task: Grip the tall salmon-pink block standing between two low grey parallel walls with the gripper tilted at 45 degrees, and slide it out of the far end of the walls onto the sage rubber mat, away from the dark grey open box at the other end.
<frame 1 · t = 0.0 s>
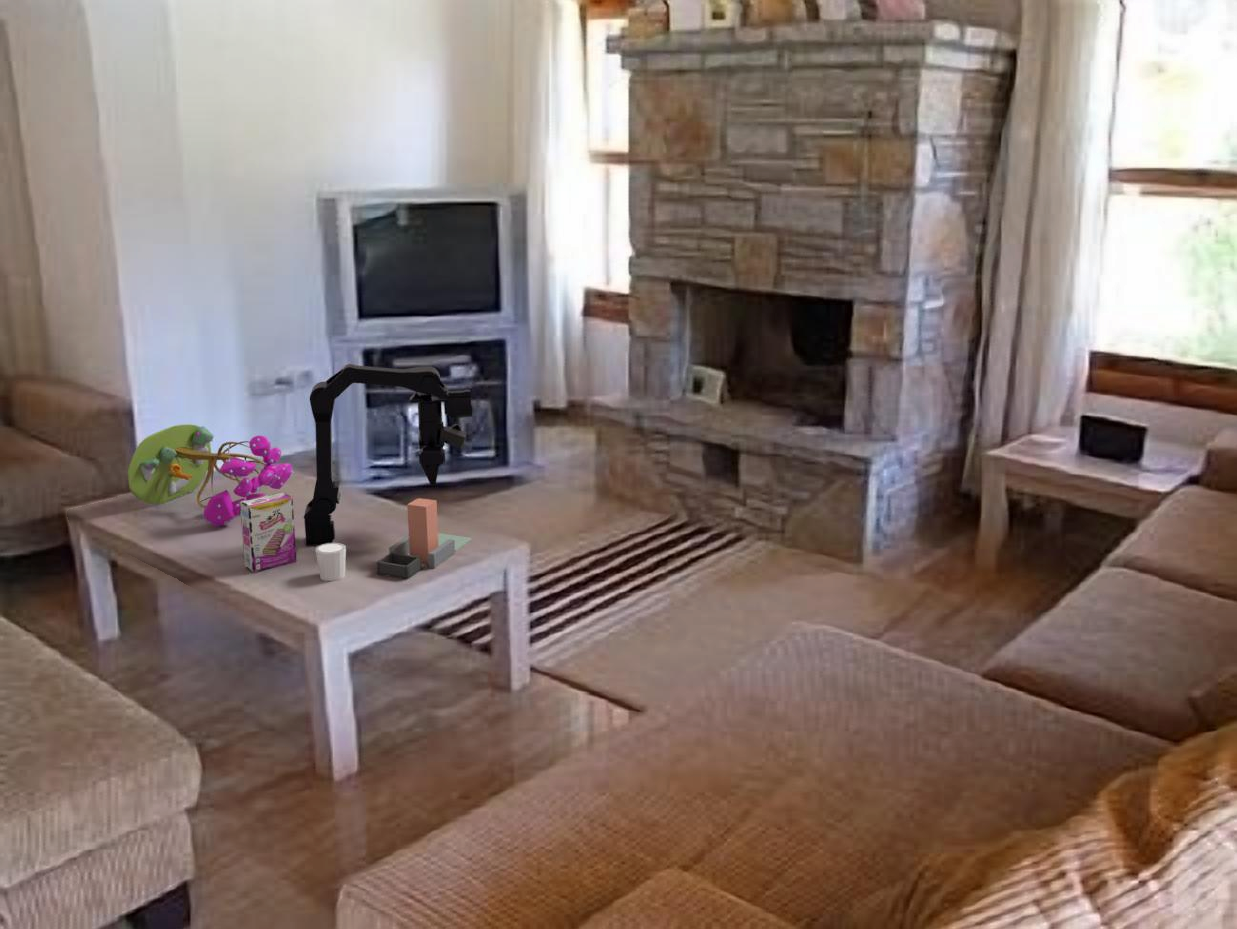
hand: (432, 479, 288), 15 cm above the table, tool pointing down, fingers open, 9 cm apart
sage mat: (446, 542, 287), on the table
candy bar box: (271, 565, 273), on the table
lily pad toy: (220, 511, 309), on the table
salmon-pink block: (424, 557, 278), on the table
dark grey open box: (399, 571, 269), on the table
white cup: (332, 576, 266), on the table
grey parallel walls: (424, 557, 278), on the table
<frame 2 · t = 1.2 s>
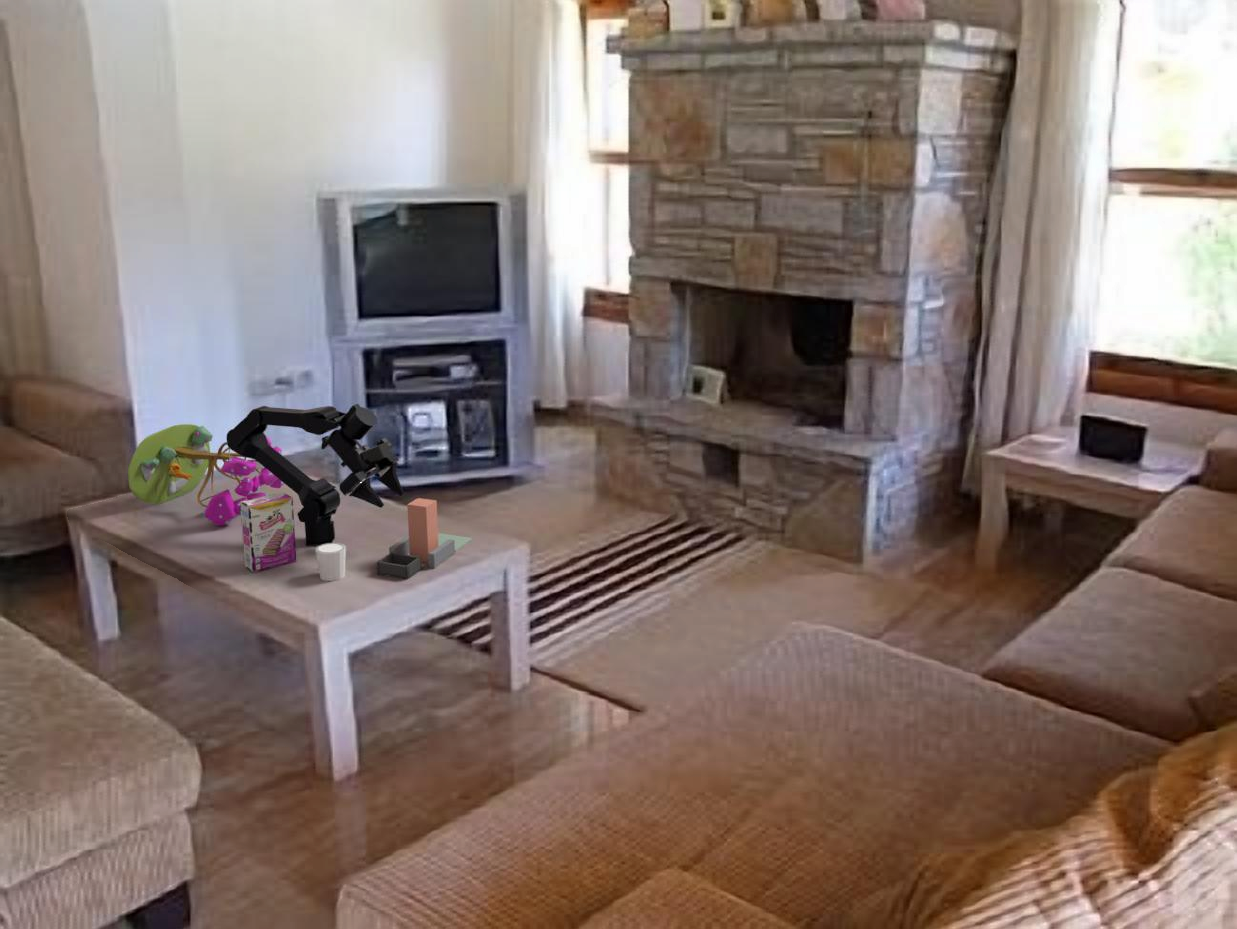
hand: (392, 500, 276), 13 cm above the table, tool tilted 45°, fingers open, 9 cm apart
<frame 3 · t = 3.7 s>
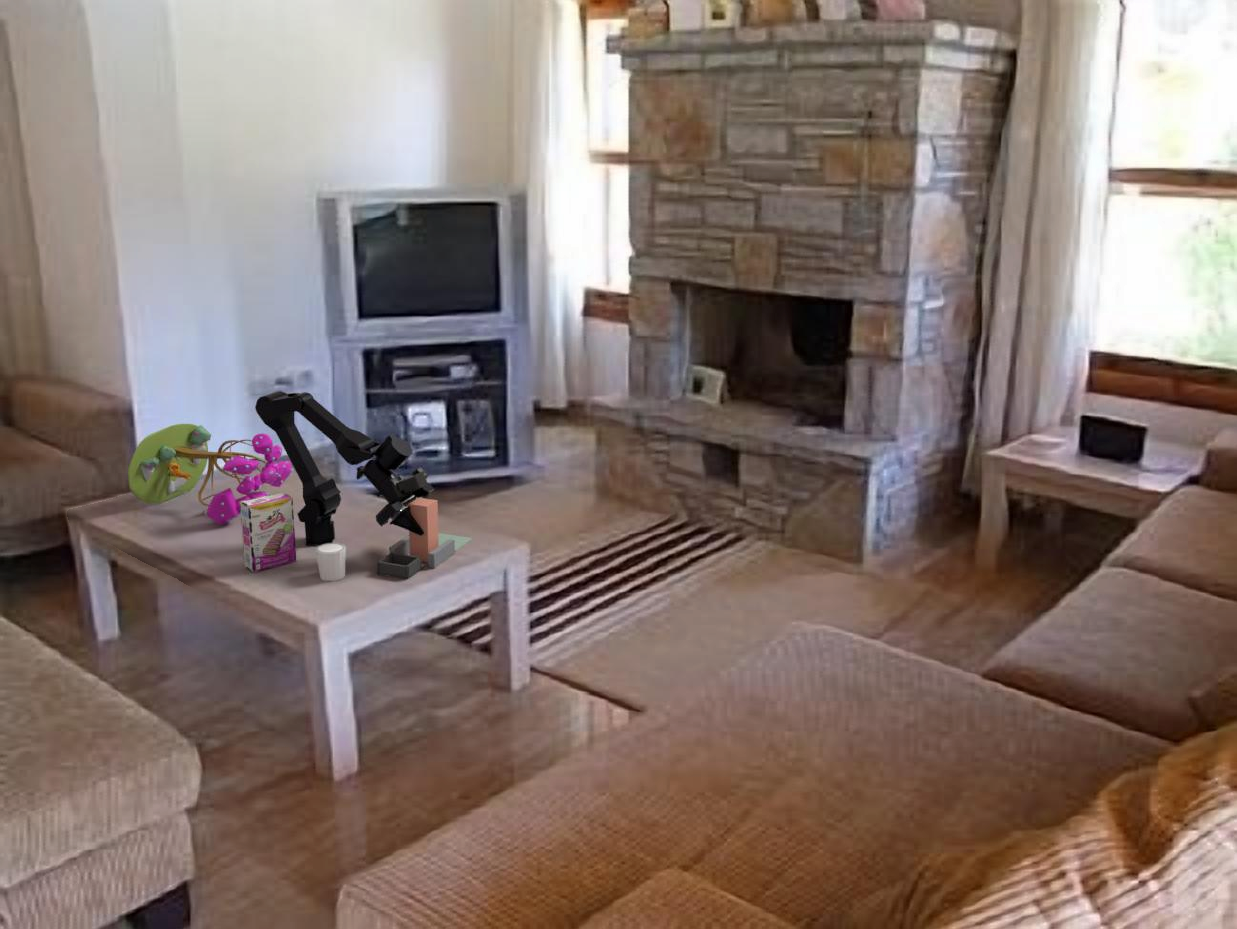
hand: (428, 530, 275), 7 cm above the table, tool tilted 45°, fingers closed on salmon-pink block, 5 cm apart
salmon-pink block: (424, 557, 278), on the table, touching gripper
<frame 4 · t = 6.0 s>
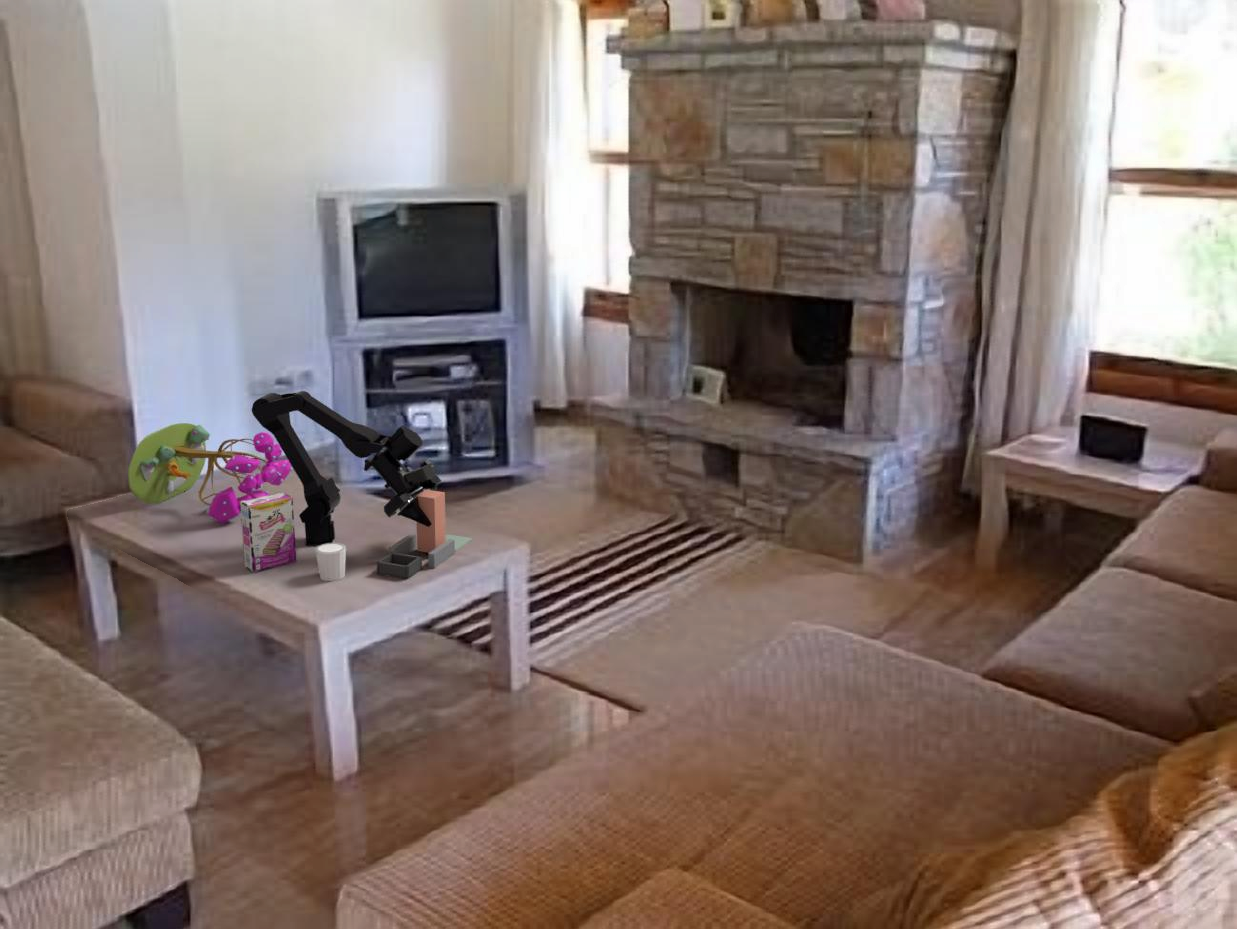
hand: (435, 522, 278), 8 cm above the table, tool tilted 45°, fingers closed on salmon-pink block, 5 cm apart
salmon-pink block: (431, 548, 281), point 1 cm above the table, touching gripper
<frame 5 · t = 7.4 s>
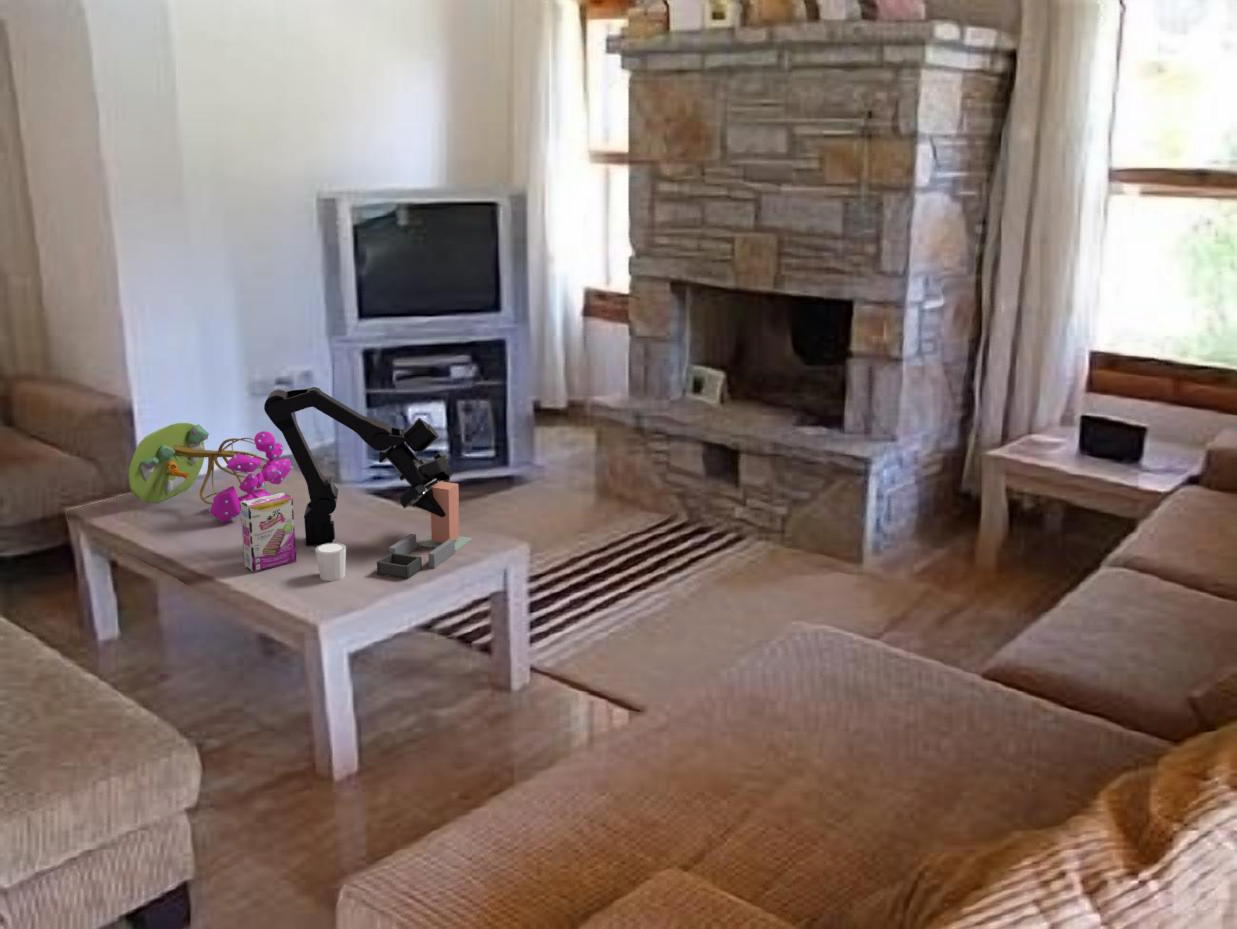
hand: (449, 512, 284), 8 cm above the table, tool tilted 45°, fingers closed on salmon-pink block, 5 cm apart
salmon-pink block: (445, 539, 287), point 1 cm above the table, touching gripper
when the fingers open (8 cm above the table, at t = 8.3 s): salmon-pink block stays where it is, resting on sage mat.
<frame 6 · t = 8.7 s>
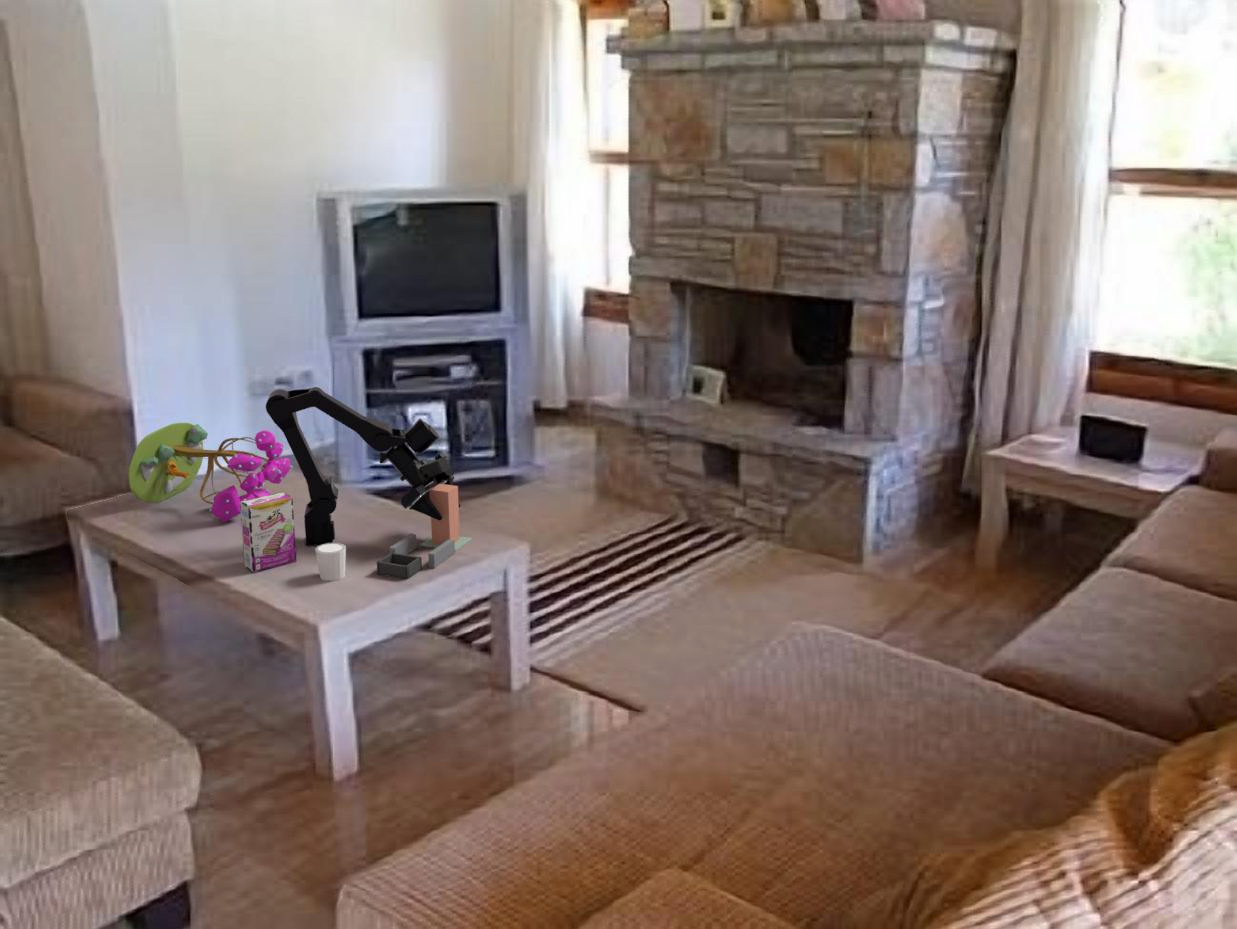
hand: (450, 513, 285), 8 cm above the table, tool tilted 45°, fingers open, 9 cm apart
salmon-pink block: (446, 541, 287), resting on sage mat
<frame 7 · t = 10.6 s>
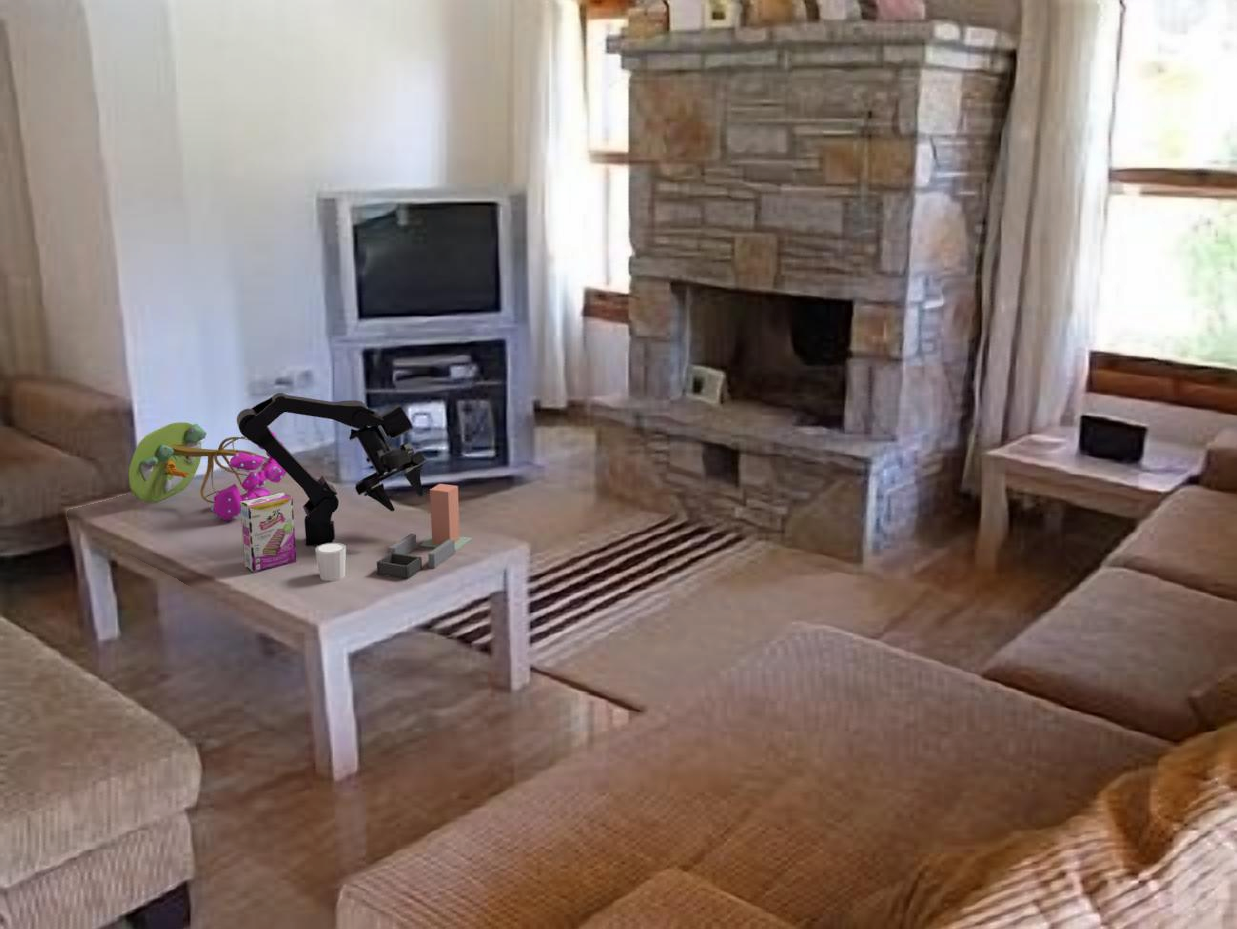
hand: (407, 503, 285), 10 cm above the table, tool tilted 35°, fingers open, 9 cm apart
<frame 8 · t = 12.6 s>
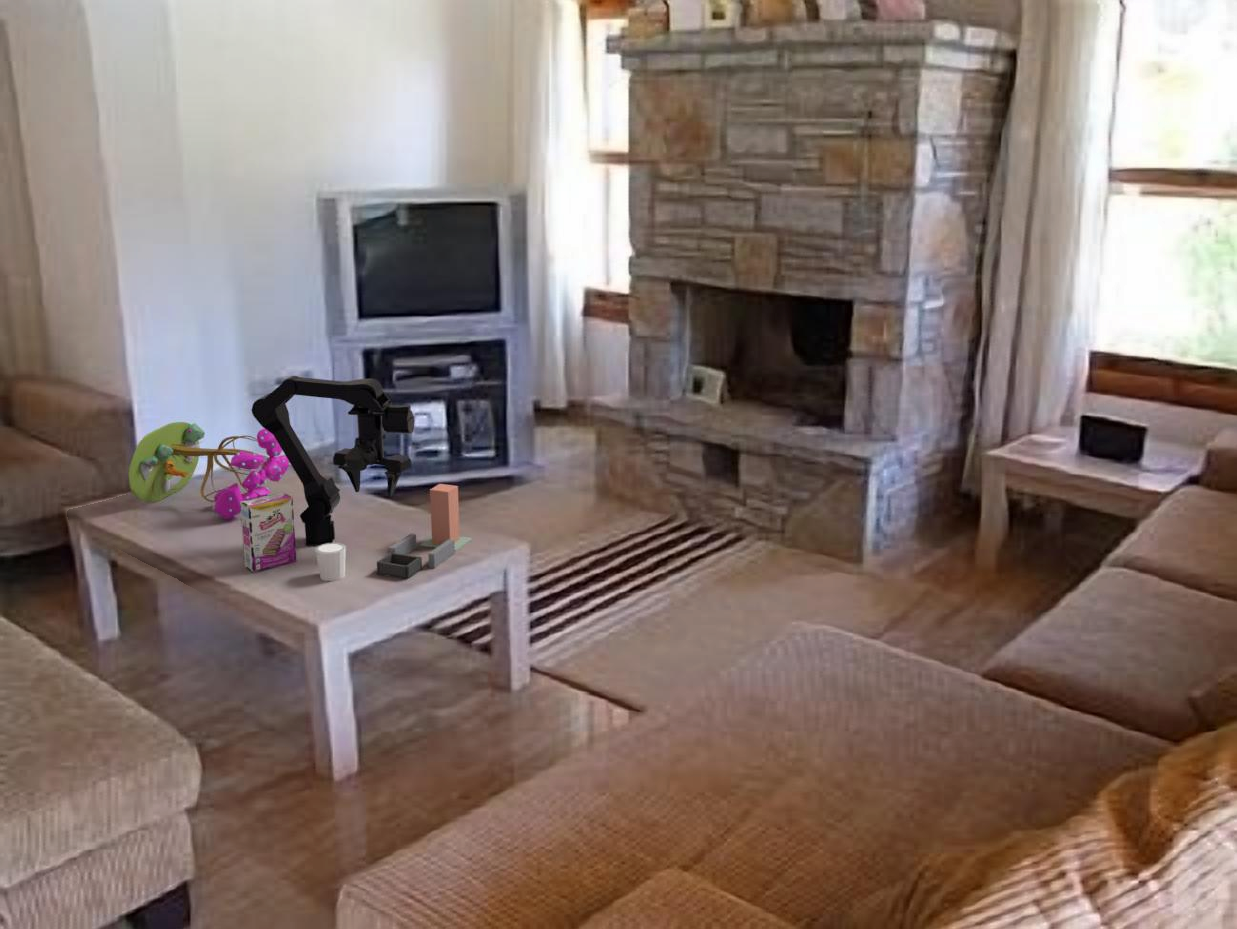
hand: (373, 494, 282), 13 cm above the table, tool pointing down, fingers open, 9 cm apart
at the end: salmon-pink block 0.1 cm from the target spot, resting on sage mat; salmon-pink block tilted 0°; salmon-pink block touching sage mat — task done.
